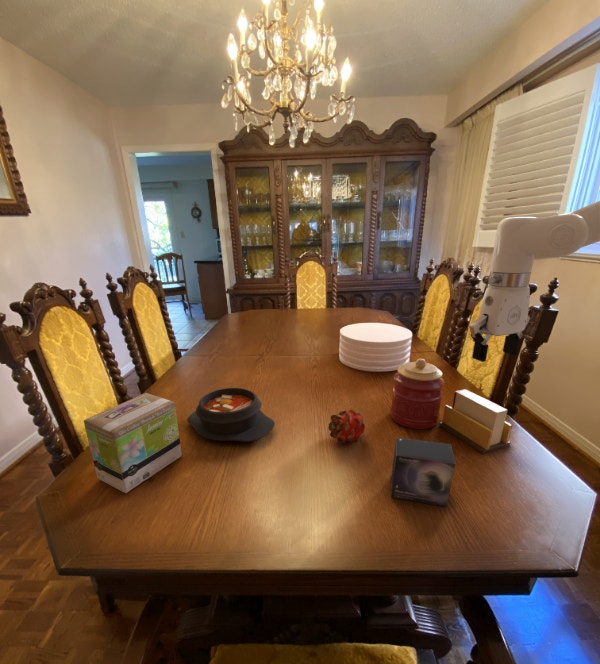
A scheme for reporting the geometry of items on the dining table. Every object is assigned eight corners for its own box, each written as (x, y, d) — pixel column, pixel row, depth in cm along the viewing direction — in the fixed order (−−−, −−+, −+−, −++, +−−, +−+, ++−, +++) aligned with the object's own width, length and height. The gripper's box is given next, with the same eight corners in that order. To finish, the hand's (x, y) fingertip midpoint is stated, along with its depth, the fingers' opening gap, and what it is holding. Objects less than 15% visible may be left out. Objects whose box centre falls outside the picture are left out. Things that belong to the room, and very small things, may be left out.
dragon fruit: (331, 455, 84) (352, 438, 93) (359, 445, 79) (379, 429, 89) (315, 423, 85) (338, 410, 94) (342, 411, 80) (364, 398, 89)
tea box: (127, 495, 69) (111, 432, 64) (97, 479, 74) (80, 419, 69) (184, 455, 82) (175, 399, 76) (155, 444, 86) (144, 390, 81)
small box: (390, 499, 68) (395, 455, 64) (390, 478, 74) (394, 436, 70) (448, 509, 65) (456, 463, 61) (443, 485, 71) (451, 442, 67)
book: (459, 418, 94) (465, 388, 91) (500, 442, 83) (507, 409, 80) (449, 421, 93) (454, 391, 90) (489, 446, 82) (496, 412, 79)
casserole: (288, 422, 95) (287, 395, 92) (246, 459, 80) (244, 428, 77) (219, 402, 107) (216, 377, 104) (171, 431, 92) (166, 403, 89)
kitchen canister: (425, 436, 88) (434, 372, 82) (381, 418, 97) (386, 359, 90) (446, 417, 97) (456, 358, 90) (403, 402, 105) (410, 347, 99)
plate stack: (402, 348, 153) (405, 323, 149) (415, 372, 127) (419, 342, 123) (339, 347, 156) (339, 322, 152) (339, 370, 130) (339, 341, 126)
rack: (464, 418, 96) (467, 399, 94) (510, 445, 84) (515, 424, 82) (439, 425, 93) (442, 405, 91) (482, 454, 81) (487, 432, 79)
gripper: (494, 285, 67) (480, 368, 73) (553, 279, 73) (536, 355, 79) (463, 281, 74) (453, 357, 80) (520, 276, 80) (506, 347, 86)
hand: (494, 356), depth 80 cm, fingers open, 9 cm apart
